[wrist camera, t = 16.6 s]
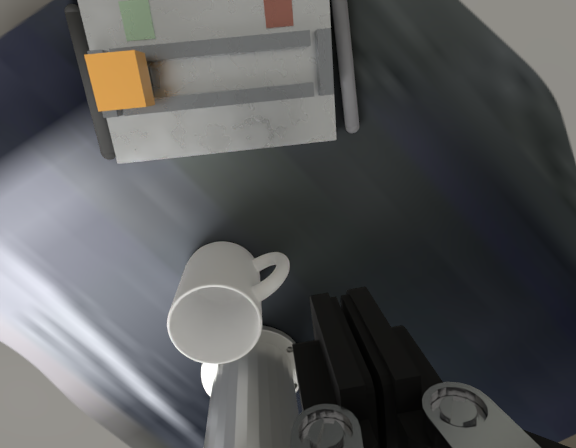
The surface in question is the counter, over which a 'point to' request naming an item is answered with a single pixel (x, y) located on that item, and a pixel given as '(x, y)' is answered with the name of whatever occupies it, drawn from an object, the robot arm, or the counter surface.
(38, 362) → the counter surface
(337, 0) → the grey rounded rod
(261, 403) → the robot arm
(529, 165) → the counter surface
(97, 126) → the grey bar
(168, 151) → the slider switch board
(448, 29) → the counter surface
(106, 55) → the orange block
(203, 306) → the mug
